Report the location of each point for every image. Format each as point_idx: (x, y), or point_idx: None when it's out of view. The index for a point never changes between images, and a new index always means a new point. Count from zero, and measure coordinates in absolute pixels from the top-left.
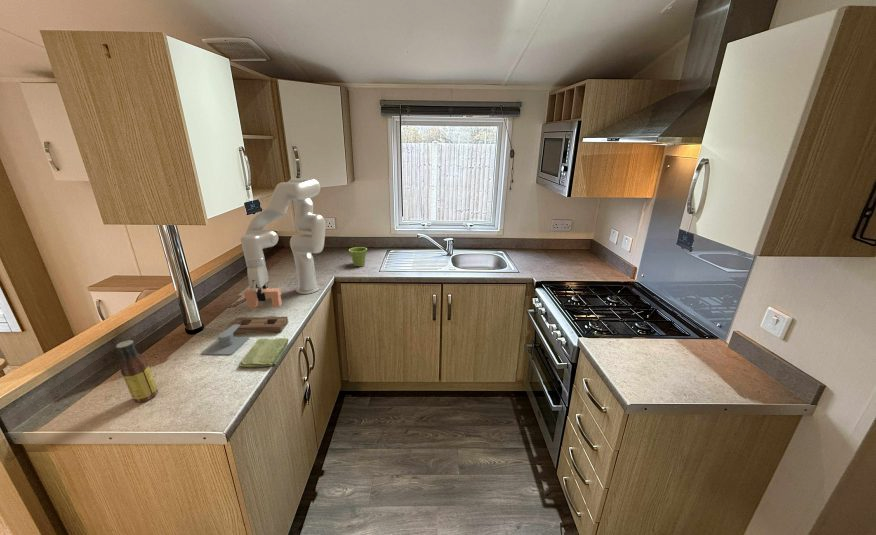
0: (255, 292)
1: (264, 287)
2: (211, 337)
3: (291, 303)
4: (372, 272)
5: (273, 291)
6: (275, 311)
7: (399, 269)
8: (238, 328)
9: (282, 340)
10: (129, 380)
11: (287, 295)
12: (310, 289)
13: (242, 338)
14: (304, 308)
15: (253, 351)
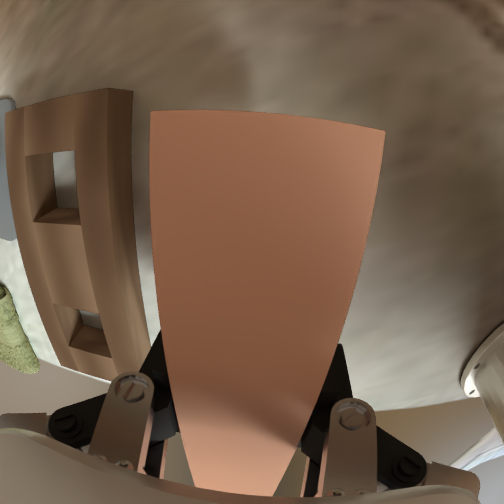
0: (170, 362)
1: (314, 451)
2: (23, 49)
3: (394, 338)
4: (485, 447)
5: (194, 481)
6: None
7: None
8: (10, 183)
9: (16, 365)
10: None
11: (501, 286)
12: (476, 384)
13: (4, 214)
14: None
15: None
